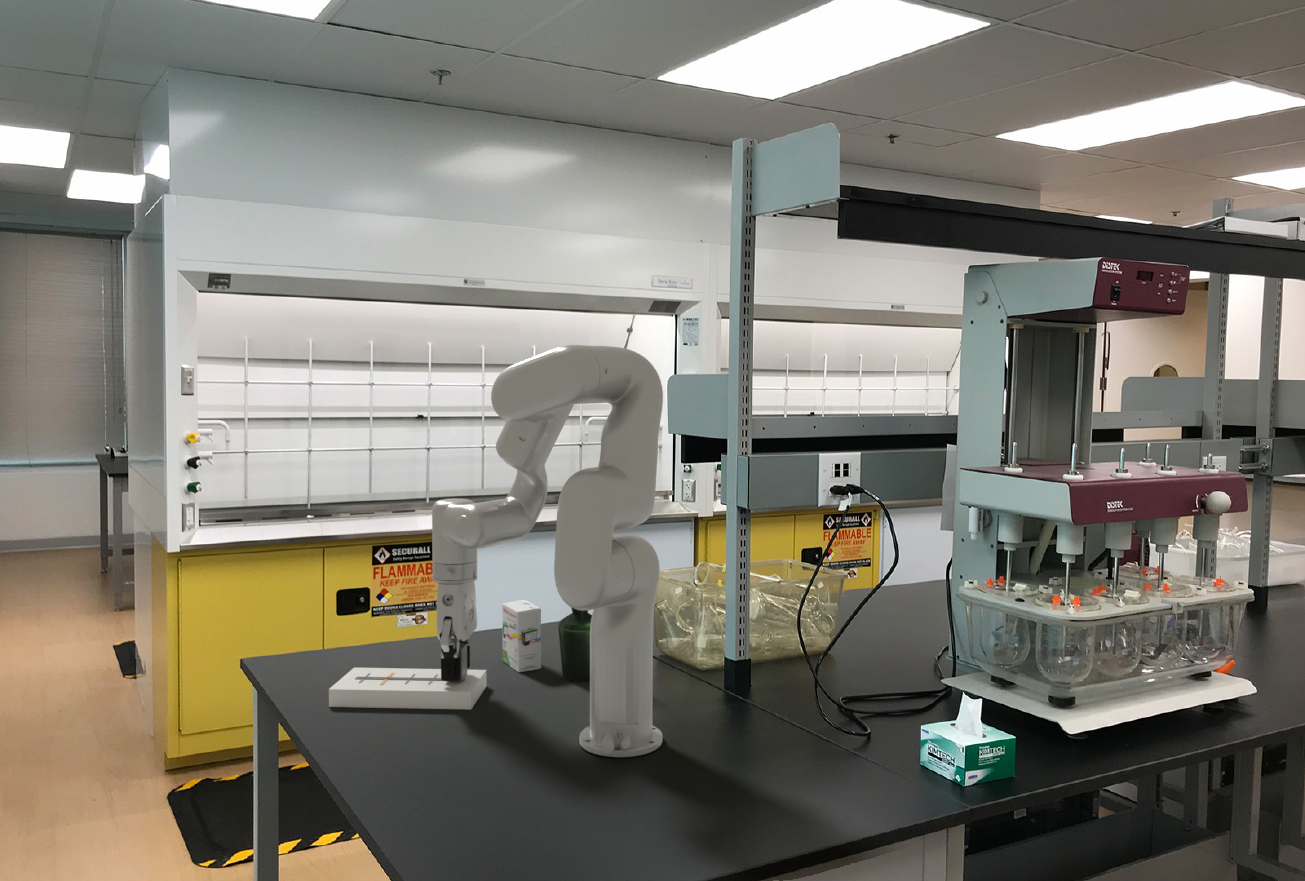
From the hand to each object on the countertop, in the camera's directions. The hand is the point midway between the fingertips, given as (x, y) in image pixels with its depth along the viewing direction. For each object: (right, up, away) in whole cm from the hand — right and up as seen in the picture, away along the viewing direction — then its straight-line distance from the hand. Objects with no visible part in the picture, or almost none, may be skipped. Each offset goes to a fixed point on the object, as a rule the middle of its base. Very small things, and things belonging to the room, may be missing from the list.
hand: (455, 673), depth 165 cm
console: (-8, -4, +1) cm, 9 cm away
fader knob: (0, -1, 0) cm, 1 cm away
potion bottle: (+21, -4, +12) cm, 24 cm away
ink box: (+9, -3, +19) cm, 21 cm away
